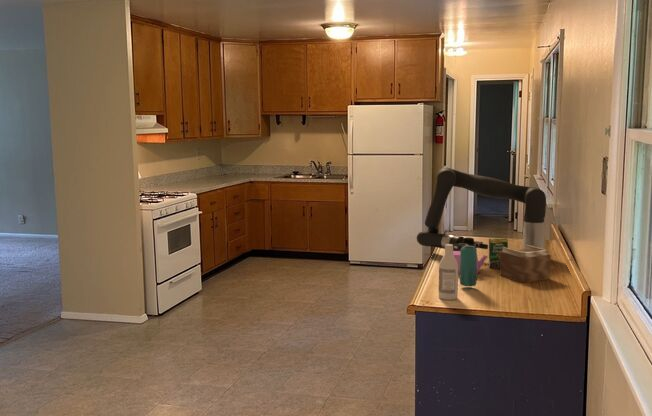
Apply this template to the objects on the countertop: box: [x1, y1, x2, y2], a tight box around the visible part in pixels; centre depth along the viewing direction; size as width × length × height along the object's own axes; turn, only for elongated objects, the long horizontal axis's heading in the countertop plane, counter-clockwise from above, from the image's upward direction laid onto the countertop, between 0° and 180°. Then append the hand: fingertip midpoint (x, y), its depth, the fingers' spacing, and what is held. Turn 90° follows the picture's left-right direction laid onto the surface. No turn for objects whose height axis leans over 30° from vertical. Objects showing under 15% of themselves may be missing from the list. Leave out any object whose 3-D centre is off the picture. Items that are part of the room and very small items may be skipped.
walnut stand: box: [499, 245, 552, 284], centre depth 265 cm, size 14×14×12 cm
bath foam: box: [438, 244, 459, 301], centre depth 234 cm, size 7×7×20 cm
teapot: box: [453, 251, 489, 276], centre depth 274 cm, size 18×10×10 cm, turn 80°
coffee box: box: [488, 238, 509, 269], centre depth 282 cm, size 8×3×13 cm, turn 82°
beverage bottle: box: [459, 236, 478, 287], centre depth 248 cm, size 6×7×20 cm
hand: (481, 248), depth 288 cm, fingers open, 8 cm apart
